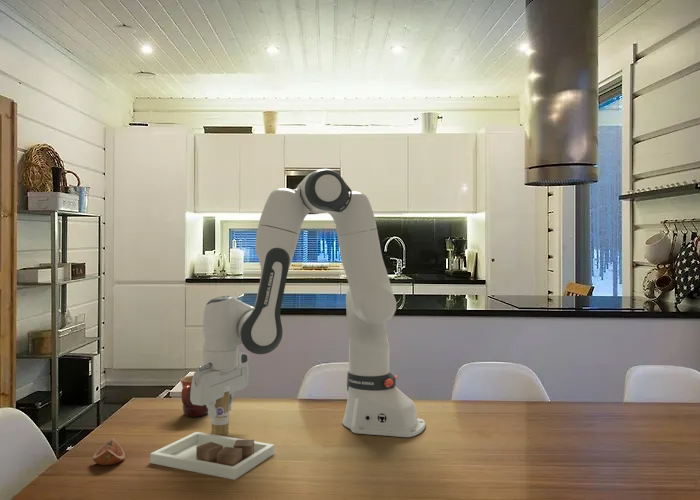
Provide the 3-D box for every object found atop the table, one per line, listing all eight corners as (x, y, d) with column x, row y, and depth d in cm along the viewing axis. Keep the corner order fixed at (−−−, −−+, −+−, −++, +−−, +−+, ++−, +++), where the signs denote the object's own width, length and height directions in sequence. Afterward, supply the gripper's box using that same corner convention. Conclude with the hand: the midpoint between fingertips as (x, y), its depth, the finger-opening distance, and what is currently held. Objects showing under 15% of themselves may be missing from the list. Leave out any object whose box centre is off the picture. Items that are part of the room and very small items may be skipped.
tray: (274, 457, 133) (274, 444, 133) (234, 483, 118) (234, 469, 118) (196, 443, 141) (196, 431, 141) (150, 466, 127) (150, 453, 127)
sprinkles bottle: (212, 439, 144) (212, 386, 144) (209, 434, 148) (209, 382, 148) (230, 437, 146) (231, 384, 146) (227, 432, 150) (227, 380, 150)
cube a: (242, 466, 125) (242, 448, 125) (234, 474, 121) (234, 455, 121) (225, 465, 126) (225, 446, 126) (216, 472, 122) (216, 453, 122)
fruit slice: (122, 471, 124) (122, 448, 124) (88, 474, 122) (88, 450, 122) (127, 457, 132) (127, 435, 132) (95, 459, 131) (95, 437, 130)
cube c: (254, 457, 130) (254, 439, 130) (251, 464, 126) (251, 445, 126) (236, 457, 130) (236, 439, 130) (233, 464, 126) (233, 445, 126)
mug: (189, 408, 170) (189, 374, 170) (216, 410, 169) (216, 376, 169) (168, 421, 159) (168, 384, 159) (197, 423, 157) (198, 385, 157)
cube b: (222, 463, 126) (222, 445, 126) (208, 469, 123) (208, 450, 123) (210, 459, 129) (210, 441, 129) (196, 465, 126) (196, 446, 125)
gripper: (205, 369, 136) (205, 427, 136) (252, 354, 155) (252, 405, 155) (183, 366, 138) (183, 424, 139) (232, 352, 157) (232, 402, 157)
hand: (220, 413), depth 147 cm, fingers closed on sprinkles bottle, 4 cm apart
